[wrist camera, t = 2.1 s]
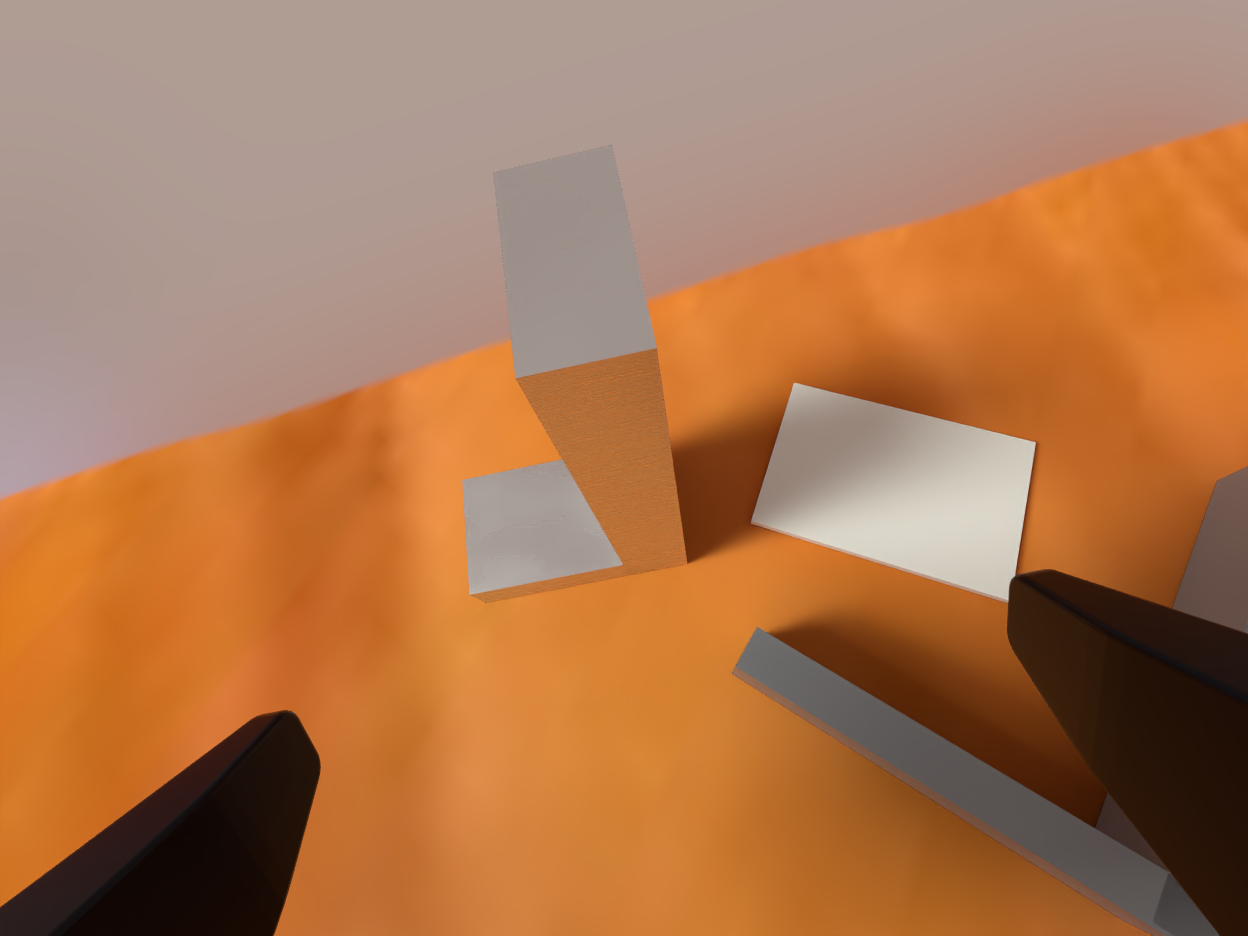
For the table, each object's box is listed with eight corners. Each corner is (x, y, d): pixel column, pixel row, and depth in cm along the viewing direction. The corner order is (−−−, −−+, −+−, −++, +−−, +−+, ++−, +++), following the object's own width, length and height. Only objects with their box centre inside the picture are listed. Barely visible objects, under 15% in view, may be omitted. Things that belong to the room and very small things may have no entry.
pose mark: (1031, 446, 20) (1036, 442, 20) (1006, 602, 18) (1010, 601, 18) (792, 386, 22) (794, 382, 22) (750, 523, 20) (750, 521, 20)
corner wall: (1261, 498, 19) (1356, 461, 16) (1123, 920, 15) (1214, 966, 13) (906, 353, 22) (935, 302, 19) (731, 673, 19) (735, 666, 16)
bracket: (665, 456, 22) (612, 144, 10) (687, 563, 20) (656, 347, 8) (477, 494, 22) (208, 239, 10) (485, 602, 21) (178, 450, 9)
